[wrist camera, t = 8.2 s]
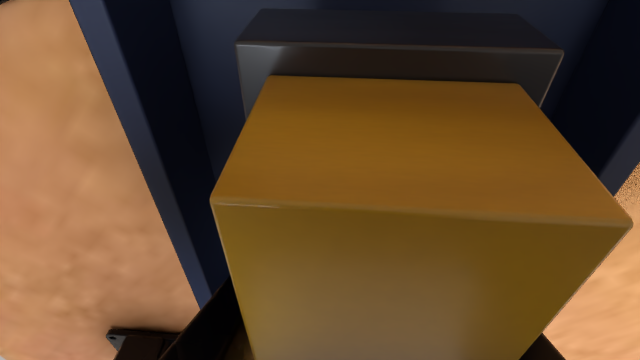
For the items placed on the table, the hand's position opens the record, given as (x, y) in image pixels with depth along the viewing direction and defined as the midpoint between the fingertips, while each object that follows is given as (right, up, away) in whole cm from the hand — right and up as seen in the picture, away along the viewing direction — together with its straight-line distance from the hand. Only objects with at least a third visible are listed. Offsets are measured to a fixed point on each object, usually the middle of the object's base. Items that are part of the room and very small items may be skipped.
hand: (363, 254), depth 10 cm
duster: (0, +1, +1) cm, 1 cm away
